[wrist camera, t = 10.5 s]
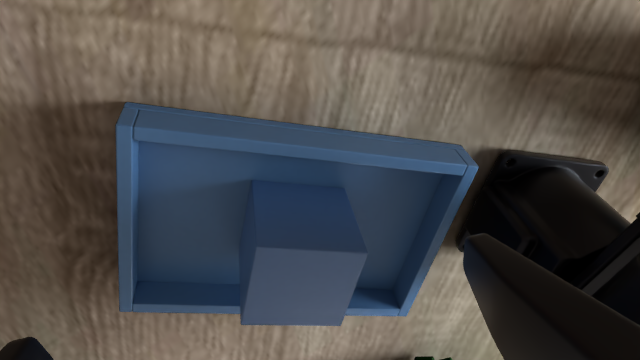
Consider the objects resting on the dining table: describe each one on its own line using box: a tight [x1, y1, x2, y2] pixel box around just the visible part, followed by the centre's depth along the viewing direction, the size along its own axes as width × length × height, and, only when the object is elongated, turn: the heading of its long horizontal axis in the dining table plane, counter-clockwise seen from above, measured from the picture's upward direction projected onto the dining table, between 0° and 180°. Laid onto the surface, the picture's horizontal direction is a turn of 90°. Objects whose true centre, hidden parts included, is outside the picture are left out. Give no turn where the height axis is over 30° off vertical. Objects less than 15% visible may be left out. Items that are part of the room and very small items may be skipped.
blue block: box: [239, 180, 368, 326], centre depth 20 cm, size 4×4×4 cm
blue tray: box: [115, 102, 479, 316], centre depth 22 cm, size 15×10×2 cm
